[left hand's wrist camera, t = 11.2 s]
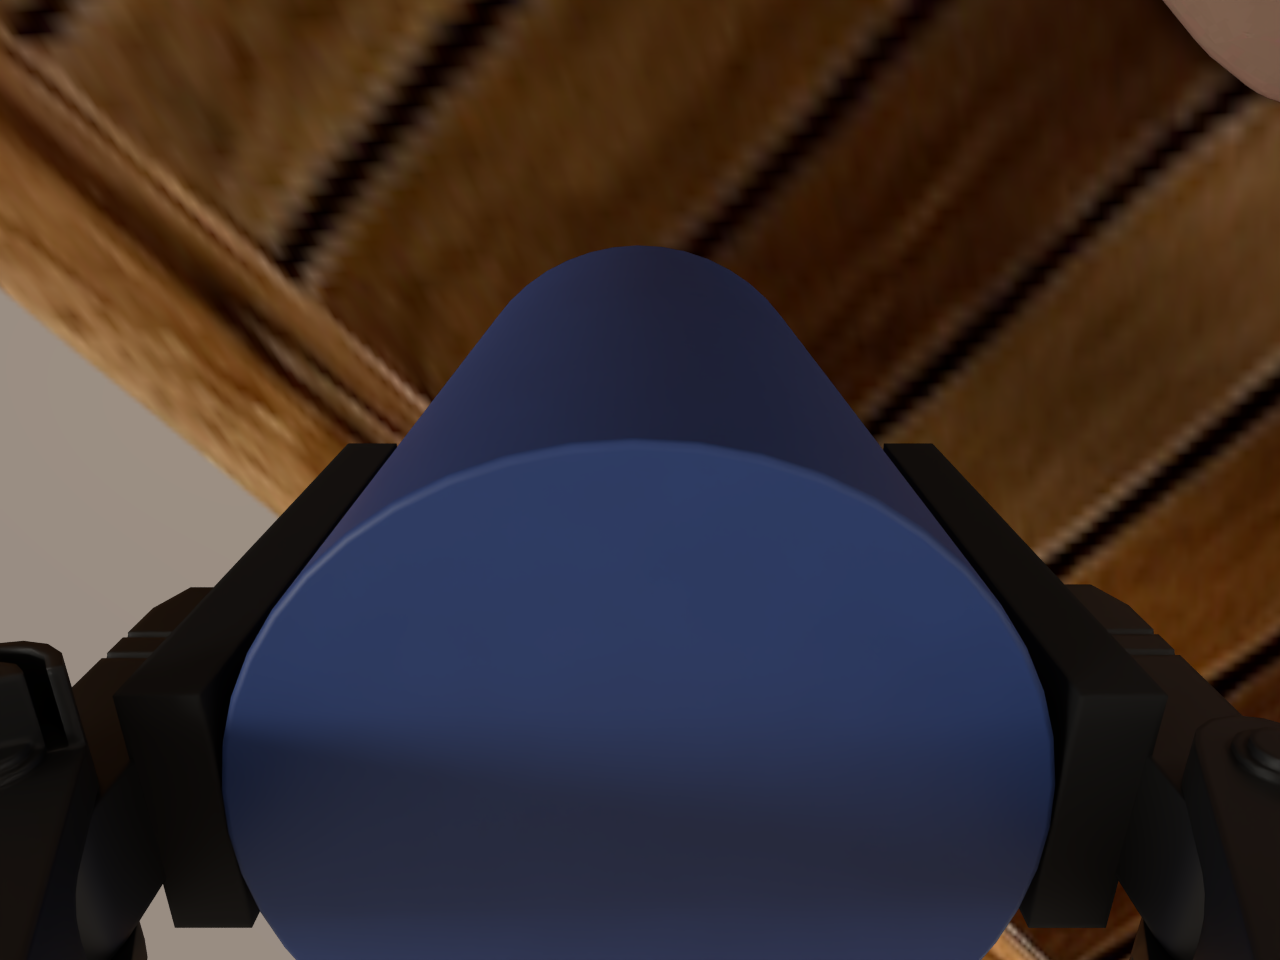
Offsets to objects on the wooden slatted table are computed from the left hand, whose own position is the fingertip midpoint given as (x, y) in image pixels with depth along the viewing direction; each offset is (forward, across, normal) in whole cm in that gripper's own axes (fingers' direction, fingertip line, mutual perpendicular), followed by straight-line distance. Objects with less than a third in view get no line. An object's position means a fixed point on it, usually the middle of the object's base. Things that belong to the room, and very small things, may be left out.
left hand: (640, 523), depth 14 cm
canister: (+6, 0, 0) cm, 6 cm away
